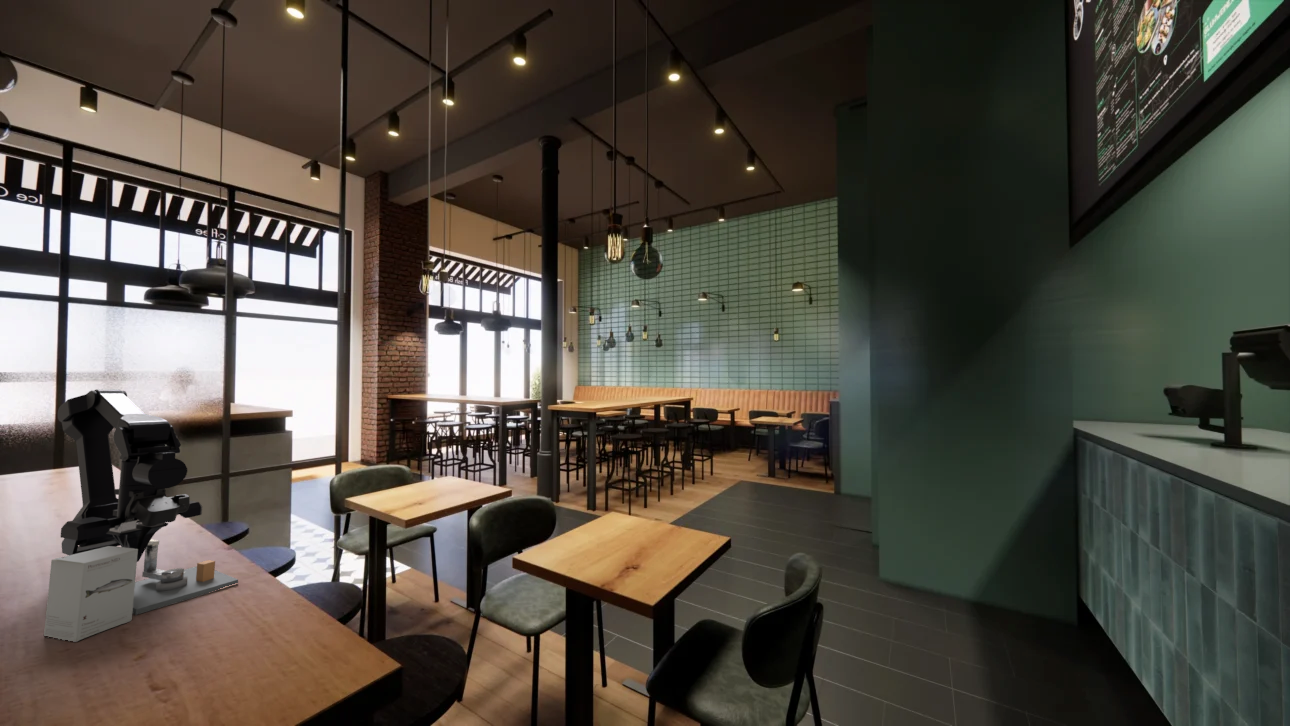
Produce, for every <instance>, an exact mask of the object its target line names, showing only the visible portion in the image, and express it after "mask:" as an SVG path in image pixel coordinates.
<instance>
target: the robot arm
mask: <svg viewBox="0 0 1290 726" xmlns="http://www.w3.org/2000/svg"><path fill="white" fill-rule="evenodd" d="M57 420H58V421H59V422H60V423H61V425H62V426H61V427H62V431H63V433H65V435H68V437H70V438H71V439H73V440H74V441H75V444H76V451H77V461H78V472H79V473H78V474H79V479H80V489H81V490H80V491H81V498H82V507H80V510H78V512H77V514H76V515H75V516H74V518H73V519H72V520H69V521H67V522H65V524H63V525H62V526H61V529H60V538H62V539H63V540H62V542H61V554H64V555H66V556H69V555H73V554H77V553H82V552H86V551H90V550H94V549H98V548H102V547H106V546H115V547H125V548H134V549H138V555H137V563H138V562H140V559H141V558H142V556H143V555H144V552H145V549H146V547H147V545H148V543H149V541H150V540H151V539H153V537H154V535H155V534H156V533H157V532H158V531H159V530H161V529H162V528H164V527H167V526H168V525H169V523H172V522H175V521H176V519H177V516H181V517H182V518H184V519H188V518H193V517H197V516H202V514H203V506H202V503H201V502H199V501H197V500H196V501H195V500H191V498H190V497H191V496H189V495H188V494H187V493H183V494H177V495H174V496H169V497H167V494H166V489H170V488H174V487H176V486H178V485H180V483H182V482H183V480H184V479H186V477H187V475H188V474H187V473H188V467H187V466H186V464H185V462H184V461H182V460H181V459H178V458H176V454H180V452H181V449H180V447H181V445H182V444H181V442H180V440H179V438H178V435H177V433H176V432H175V430H174V427H173V425H172V424H171V423H170V422H169V421H168V420H167V419H164V418H162V417H161V416H156V415H150V414H146V413H145V412H144V411H143V410H142V409H141V408H140V407H138V405H136V404H135V403H134V402H133V401H132V400H131V399H130V398H129V397H128V393H127V391H126V390H121V389H106V388H105V389H103V388H102V389H99V388H98V389H94V390H90V391H88V392H87V393H86V394H82V395H79V396H75V397H71V398H69V399H66V401H65V402H63V403H62V404H61V405H60V406H59V408H58V411H57ZM113 429H114V433H113V442H114V444H115V446H116V447H117V449H118V451H119V453H120V456H119V459H120V460H121V464H120V472H119V473H120V474H119V485H118V488H116V486H115V478H114V471H113V470H114V469H113V461H112V452H111V451H112V450H111V446H110V445H111V443H110V437H109V436H110V434H111V432H112V430H113ZM117 495H118V497H117Z"/></svg>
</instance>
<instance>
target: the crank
mask: <svg viewBox="0 0 1290 726" xmlns="http://www.w3.org/2000/svg"><path fill="white" fill-rule="evenodd" d="M159 545H160V540H158V539H153V538H151V540H150V541H149V543H148V545H147V547H146V549H145V551H144V552H145V553H144V561H143V562H144V563H143V571H142V572H141V573H142V575H141V577H142V578H143V577H144V578H146V579H149V578H151V579H156V580H161V583H172V582H176V581H180V580H182V579H183V578H184V570H185V568H183V567H179V568H172V569H167V570H164V569H160V568H158V567H157V564H158V550H159Z"/></svg>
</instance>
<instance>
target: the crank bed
mask: <svg viewBox="0 0 1290 726" xmlns="http://www.w3.org/2000/svg"><path fill="white" fill-rule="evenodd" d="M215 567H216V560H211V559H206V560H204V561H200V562H197V563H196V566H194V567H188V568H186V569H185V568H184V578H183V579H182V580H180V581H176V582H172V583H161V580H156V579H151V578H146V579H142V580H139V581H135V588H134V599H133V611H132V615H135V616H137V615H140V614H143V613H147V612H150V611H154V610H157V609H160V608H165V607H167V606H171V605H173V604H176V603H181V602H183V601H188V600H190V599H193V598H197V597H200V595H201V596H205V595H207V594H210V593H209V592H211V593H213V592H212V591H214V592H216V591H215V590H217V591H219V590H218V589H220V588H223V587H225V586H229V585H232V584H235V583H238V584H239V579H238V578H236V577H233V576H231V575H228V574H226V573H223V572H221V571H218V570H216V568H215ZM196 596H197V597H196Z"/></svg>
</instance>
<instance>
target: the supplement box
mask: <svg viewBox="0 0 1290 726" xmlns="http://www.w3.org/2000/svg"><path fill="white" fill-rule="evenodd" d="M137 555H138V549H134V548H125V547H121V546H117V547H115V546H106V547H102V548H98V549H94V550H90V551H86V552H82V553H77V554H73V555H65V556H62V557H61V556H60V557H58V558H54V559H51V560H50V572H49V583H48V593H47V600H46V601H47V602H46V603H47V604H46V612H45V613H46V614H45V622H44V631H43V636H49V637H54V638H58V639H57V640H60V639H62V640H61V641H65V640H68V641H67V642H70V641H73V643H78V642H79V641H81V640H83V639H86V638H88V637H91V636H93V635H95V634H99V633H102V632H104V631H107V630H110V629H113V628H116V627H118V626H121V625H123V624H126V623H129V622H131V621H132V619H133V613H132V611H133V599H134V588H135V582H136V578H137V577H136V575H137V566H138V565H137V564H138V562H137ZM49 637H48V638H49ZM54 638H53V639H54Z"/></svg>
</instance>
